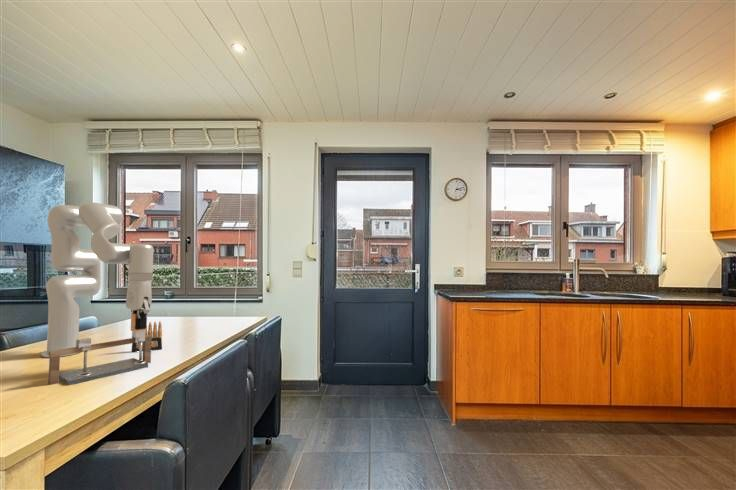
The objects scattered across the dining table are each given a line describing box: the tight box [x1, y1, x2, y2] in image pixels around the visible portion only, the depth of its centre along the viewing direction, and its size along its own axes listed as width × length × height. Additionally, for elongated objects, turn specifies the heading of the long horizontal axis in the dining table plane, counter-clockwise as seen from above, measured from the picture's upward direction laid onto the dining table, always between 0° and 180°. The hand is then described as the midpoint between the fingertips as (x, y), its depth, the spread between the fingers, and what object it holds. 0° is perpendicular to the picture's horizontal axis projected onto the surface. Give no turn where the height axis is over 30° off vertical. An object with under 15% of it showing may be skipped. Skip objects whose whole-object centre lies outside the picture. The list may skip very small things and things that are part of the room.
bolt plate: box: [59, 357, 149, 386], centre depth 116 cm, size 12×23×1 cm, turn 145°
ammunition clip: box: [131, 320, 163, 353], centre depth 144 cm, size 11×2×12 cm, turn 116°
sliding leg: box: [130, 313, 148, 361], centre depth 124 cm, size 5×4×16 cm
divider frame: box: [48, 334, 153, 385], centre depth 116 cm, size 4×28×12 cm, turn 145°
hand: (138, 327), depth 125 cm, fingers closed on sliding leg, 3 cm apart
